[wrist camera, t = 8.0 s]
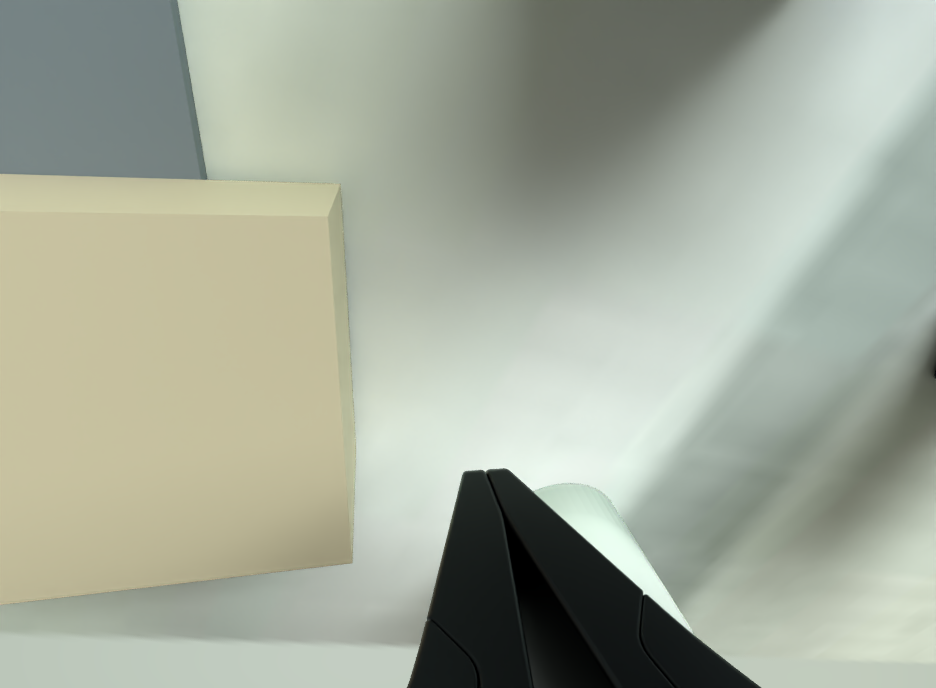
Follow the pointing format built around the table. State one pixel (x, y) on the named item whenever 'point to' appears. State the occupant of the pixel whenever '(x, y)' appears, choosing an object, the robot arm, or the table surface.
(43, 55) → the mat
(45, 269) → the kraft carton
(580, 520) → the white rounded cylinder
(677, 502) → the table surface
